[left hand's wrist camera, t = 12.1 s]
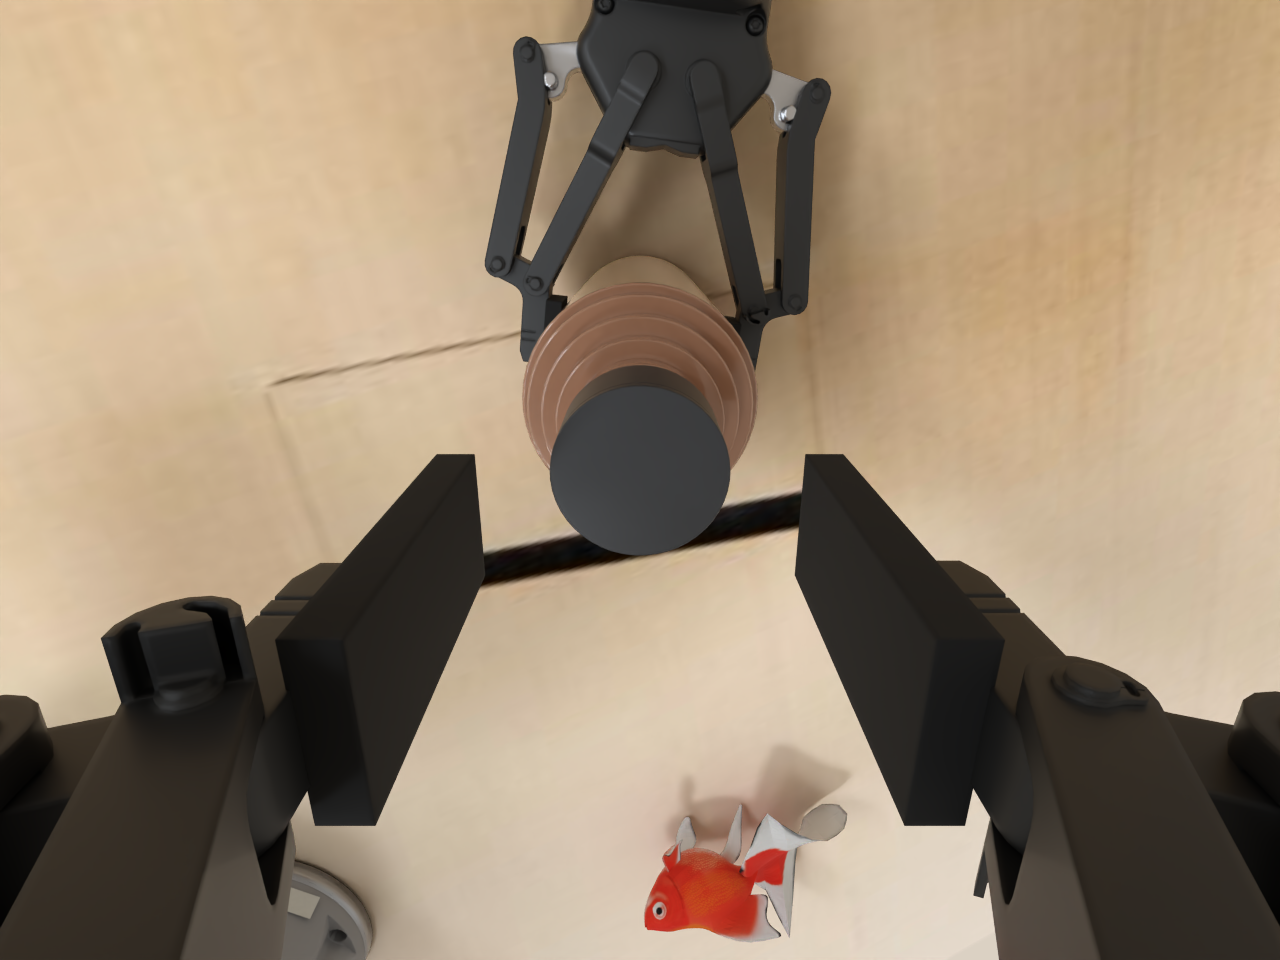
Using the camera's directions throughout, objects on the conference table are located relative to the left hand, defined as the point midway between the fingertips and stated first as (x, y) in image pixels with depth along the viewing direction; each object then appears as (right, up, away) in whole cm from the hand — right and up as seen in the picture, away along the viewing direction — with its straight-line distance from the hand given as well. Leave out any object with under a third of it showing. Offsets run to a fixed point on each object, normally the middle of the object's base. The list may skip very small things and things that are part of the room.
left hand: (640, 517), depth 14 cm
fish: (+8, -25, +39) cm, 47 cm away
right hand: (-1, +3, +22) cm, 22 cm away
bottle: (0, +10, +26) cm, 28 cm away
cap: (0, +1, +3) cm, 3 cm away
